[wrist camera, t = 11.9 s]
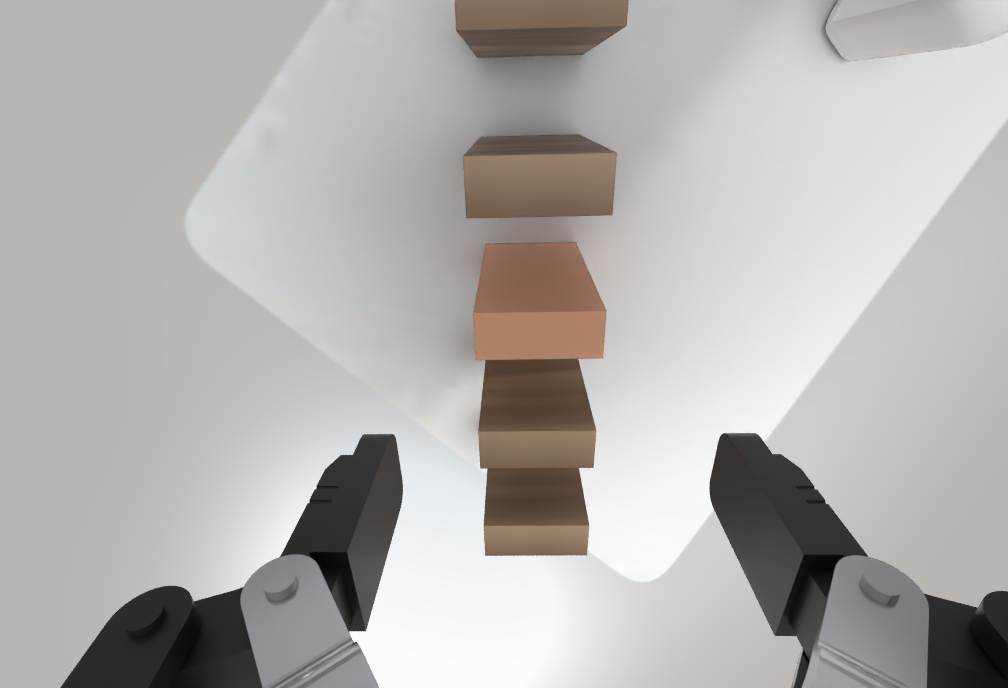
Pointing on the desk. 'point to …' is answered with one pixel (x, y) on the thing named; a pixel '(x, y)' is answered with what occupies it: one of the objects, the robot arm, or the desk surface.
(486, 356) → the domino
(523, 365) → the domino
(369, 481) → the robot arm
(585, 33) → the domino
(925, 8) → the eye dropper bottle
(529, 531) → the domino
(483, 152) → the domino
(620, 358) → the desk surface
